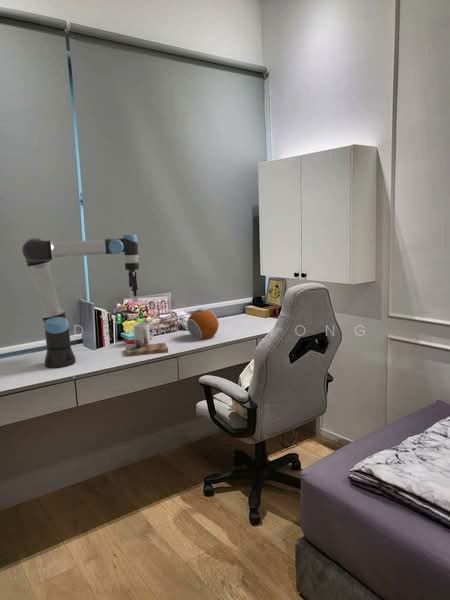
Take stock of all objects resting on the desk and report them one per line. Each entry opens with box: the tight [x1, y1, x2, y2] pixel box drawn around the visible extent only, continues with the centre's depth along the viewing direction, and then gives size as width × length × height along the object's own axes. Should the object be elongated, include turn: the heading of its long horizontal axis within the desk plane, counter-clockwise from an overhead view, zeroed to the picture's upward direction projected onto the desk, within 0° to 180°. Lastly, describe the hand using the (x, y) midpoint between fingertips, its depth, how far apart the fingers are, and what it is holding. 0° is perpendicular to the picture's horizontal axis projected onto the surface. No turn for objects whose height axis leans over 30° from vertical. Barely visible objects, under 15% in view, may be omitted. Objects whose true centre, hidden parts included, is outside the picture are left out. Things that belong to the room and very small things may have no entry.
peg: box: [131, 329, 149, 350], centre depth 263 cm, size 13×3×9 cm, turn 149°
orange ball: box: [186, 307, 220, 340], centre depth 291 cm, size 19×18×17 cm
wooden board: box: [125, 342, 169, 357], centre depth 264 cm, size 22×13×2 cm, turn 105°
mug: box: [133, 322, 155, 344], centre depth 282 cm, size 12×9×11 cm
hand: (133, 300), depth 268 cm, fingers open, 13 cm apart
